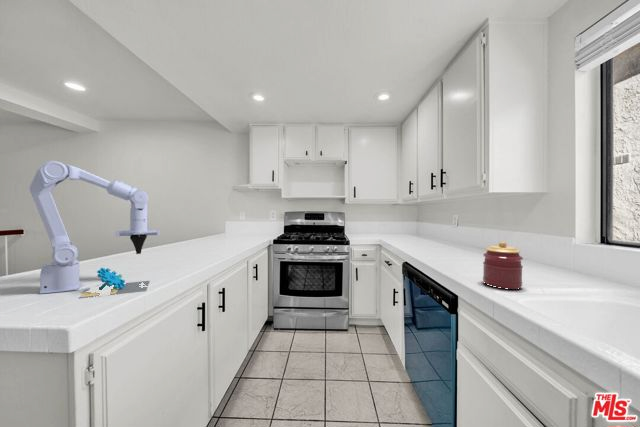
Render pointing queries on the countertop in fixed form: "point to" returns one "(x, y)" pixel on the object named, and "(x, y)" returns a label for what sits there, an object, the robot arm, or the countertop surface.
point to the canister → (503, 267)
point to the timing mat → (127, 288)
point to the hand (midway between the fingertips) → (138, 253)
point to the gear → (110, 279)
